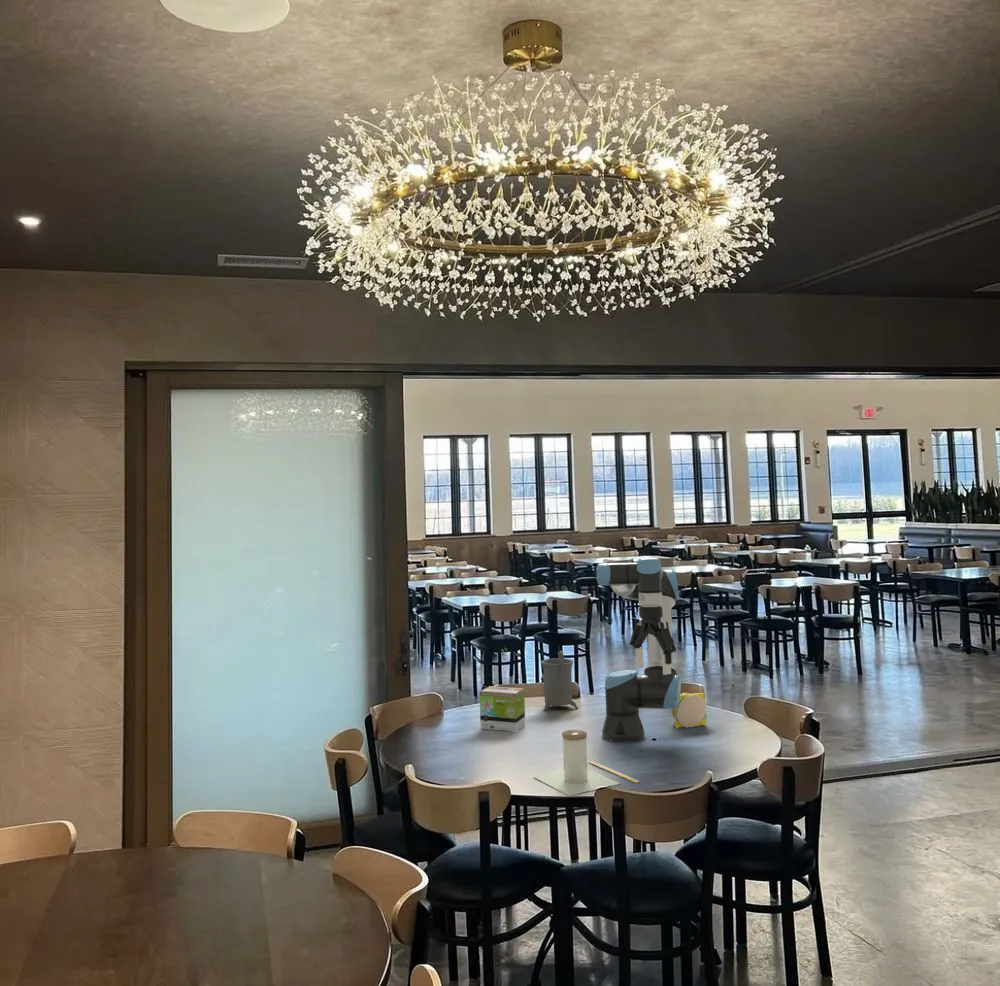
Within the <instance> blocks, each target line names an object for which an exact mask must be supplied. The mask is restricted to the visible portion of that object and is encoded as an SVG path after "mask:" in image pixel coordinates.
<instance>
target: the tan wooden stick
mask: <svg viewBox="0 0 1000 986" xmlns="http://www.w3.org/2000/svg"><path fill="white" fill-rule="evenodd" d="M594 762H595V761H593V760H592V761H588V764H590V763H592V764H595V765H596V764H598V765H599V767H601V768H603V769H602V770H604V769H606V770H608V771H610V772H612V773H611V774H613V775H616V776H617V775H618V777H620V778H622V779H625V780H627V781H629V782H632V783H633V782H634V784H639V782H641V781H640V780H638V779H635V778H633V777H631V776H628V775H626V774H624V773H621V772H619V771H618V770H617V771H616V770H614V769H612V768H610V767H607V766H605V765H604V764H603V765H602V764H600V763H599V762H596V763H594ZM592 764H591V765H592ZM599 767H598V768H599ZM601 768H600V769H601ZM606 770H605V771H606ZM608 771H607V772H608ZM610 772H609V773H610Z"/></svg>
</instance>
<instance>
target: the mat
mask: <svg viewBox="0 0 1000 986" xmlns="http://www.w3.org/2000/svg"><path fill="white" fill-rule="evenodd" d="M587 775H588V781H587V782H585V783H580V784H571V783H567V782H565V780H564V769H562V770H558V771H553V772H549V773H544V774H540V775H536V776H533V777H535V778H537V779H538V780H537V779H536V780H537V781H539V780H540V781H539V782H541V783H543V784H544V783H545V785H546V784H547V786H548V785H549V786H548V787H550V788H552V789H554V790H556V791H558V792H561V793H563V794H564V795H566V796H568V797H573V796H577V794H578V795H580V794H579V793H582V792H586V791H590V790H593V789H595V788H596V787H599V786H611V787H614V786H620V785H621V783H620V782H618V781H615V780H614V779H611V778H608V777H606V776H604V775H602V774H600V773H598V772H595V771H593V770H591V769H588V768H587ZM535 778H534V779H535ZM590 784H591V785H592V786H591V785H590ZM591 787H594V788H591ZM590 792H591V791H590ZM586 793H587V792H586ZM582 794H583V793H582Z"/></svg>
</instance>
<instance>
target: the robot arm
mask: <svg viewBox="0 0 1000 986" xmlns="http://www.w3.org/2000/svg"><path fill="white" fill-rule="evenodd" d="M596 581H597V584H598V585H599V586H610V588H611V589H612V591H613V592H614V594H616V595H618V596H620V597H621V598H625V599H628V600H632V601H633V600H634V601H638V605H640V606H639V607H638V612H639V613H638V616H639V618H635V620H634V626H633V631H632V634H631V637H630V642H629V645H630V646H633V648H634V657H635V668H636V669H643V668H644V670H643V674H638V673H639V672H638V671H637V670H636V669H624V670H623V669H622V670H617V671H613V672H610V673H608V674H607V675H606V676H605V678H604V679H605V680H604V690H605V717H604V718H605V719H604V722H603V726H602V729H601V736H602V737H601V738H603V739H604V738H605V739H604V740H606V739H607V741H609V740H611V741H610V742H614V741H618V742H617V743H634V742H639V741H641V740H644V739H645V736H646V735H645V729H644V727H643V722H642V720H641V718H640V717H641V716H640V714H639V713H640V712H639V710H640V709H660V710H667V709H668V710H669V709H670V710H671V709H673V708H676V707H677V706H678V704H679V699H680V694H681V689H682V688H681V687H682V686H681V685H682V676H681V675H679V674H678V673H677V669H676V668H674V667H673V653H676V652H677V648H676V646H675V643H674V640H673V626H672V625H673V623H672V622H673V620H672V619H673V618H672V608H673V607H674V606H675V605H676V601H679V600H680V593H679V588H678V582H677V581H678V580H677V575H676V572H675V571H674V570H673V569H664V568H662V565H661V559H659V558H658V557H642V558H638V559H637V561H636V562H605V563H604V562H603V563H598V564H597V566H596ZM646 638H647V639H648V641H647V642H648V644H647V645H648V646H647V647H648V648H647V652H648V653H647V655H648V657H647V658H648V659H647V661H648V662H647V664H648V665H647V666H646V667H645V662H644V660H645V659H644V646H643V645H644V642H645V640H646Z"/></svg>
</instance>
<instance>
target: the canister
mask: <svg viewBox="0 0 1000 986" xmlns="http://www.w3.org/2000/svg"><path fill="white" fill-rule="evenodd" d="M587 736H588V735H587V731H585V730H581V729H569V730H565V731H563V732H562V733H561V737H562V747H563V748H562V749H563V750H562V753H563V770H564V780H565V782H567V783H571V784H580V783H585V782H587V781H588V775H587V769H588V758H587V757H588V755H587V752H588V751H587V738H588V737H587Z"/></svg>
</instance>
